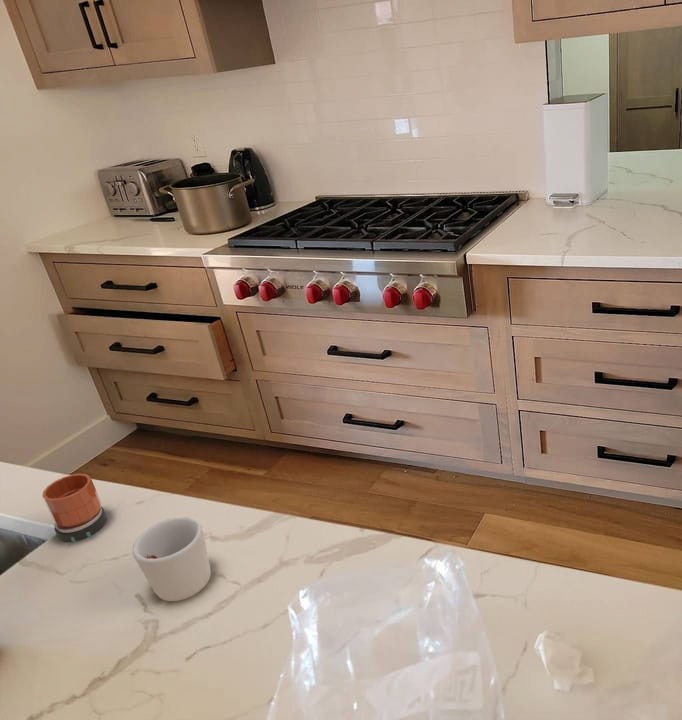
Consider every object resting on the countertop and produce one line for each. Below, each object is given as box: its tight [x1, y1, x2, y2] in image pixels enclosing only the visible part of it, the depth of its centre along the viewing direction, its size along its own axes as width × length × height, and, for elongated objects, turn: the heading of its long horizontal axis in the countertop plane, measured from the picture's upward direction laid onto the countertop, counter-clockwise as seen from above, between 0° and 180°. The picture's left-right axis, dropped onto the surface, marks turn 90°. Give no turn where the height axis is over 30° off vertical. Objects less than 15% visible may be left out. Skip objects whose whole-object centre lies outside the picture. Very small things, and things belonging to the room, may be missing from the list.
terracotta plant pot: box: [42, 473, 102, 527], centre depth 96 cm, size 6×6×5 cm
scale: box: [54, 506, 108, 543], centre depth 97 cm, size 6×6×3 cm
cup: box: [132, 516, 211, 602], centre depth 85 cm, size 11×8×8 cm
